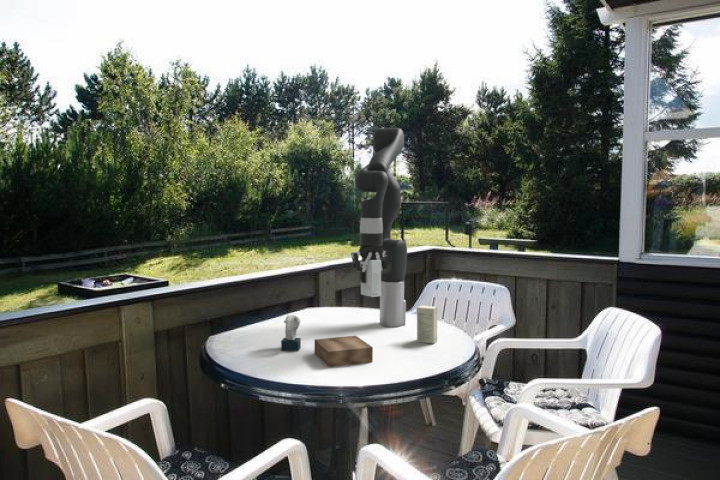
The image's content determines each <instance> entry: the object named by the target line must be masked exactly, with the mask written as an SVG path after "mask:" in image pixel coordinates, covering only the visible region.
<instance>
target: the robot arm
mask: <svg viewBox="0 0 720 480" xmlns="http://www.w3.org/2000/svg"><path fill="white" fill-rule="evenodd" d="M404 146H405V135H404V131H403V130H402V129H401V128H400V127H384V128H383V127H382V128H376V129H375V130H374V133H373V150H374V151H373V152H374V154H373V155H372V157H371V158H370V160H369V162H368V164H366V165H365V166H364V167H362V168H361V169H360V171H358V173H357V175H356V177H355V187H356V188H357V189H356V190H358V191H359V192H361V193H375V196H373V197H371V198H368V199H364V200H362V201H361V203H360V205H361V206H360V223H359V249H358V251H355V252H354V251H352V252H351V253H350V255H351V260H352V265H353V269H354V270H356V271H358V272H359V281H360V284H361V283H366V272H365V270H366V267H367V266H368V263H369V260H381V296H379V325H381V326H383V327H387V328H388V327H389V328H391V327H392V328H398V327H402V326H405V325H406V319H407V317H406V315H407V313H406V312H407V307H406V306H407V300H405V277H406V273H407V264H408V263H407V262H408V261H407V260H408V247H407V244H406V242H405V241H404V240H402V239H392V237H391V231H392V225H393V222H394V220H395V219H396V218H397V215H398V213H399V211H400V209H401V206H402V193H401V192H402V189H401V185H400V183H399V182H398V181H397V179H396V177H395V175H394V174H393V173H392V172H391V170H390V166H391V164H392V163H393V162H394V161H395V159H396V158H397V157H398V156H399V155H400V154H401V152H402V151H403V149H404ZM360 257H361V259H360V261H359V258H360ZM363 260H364V261H365V262H363ZM389 264H391V265H390V269H388V266H389ZM387 269H388V270H387ZM384 270H387V271H384Z"/></svg>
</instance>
